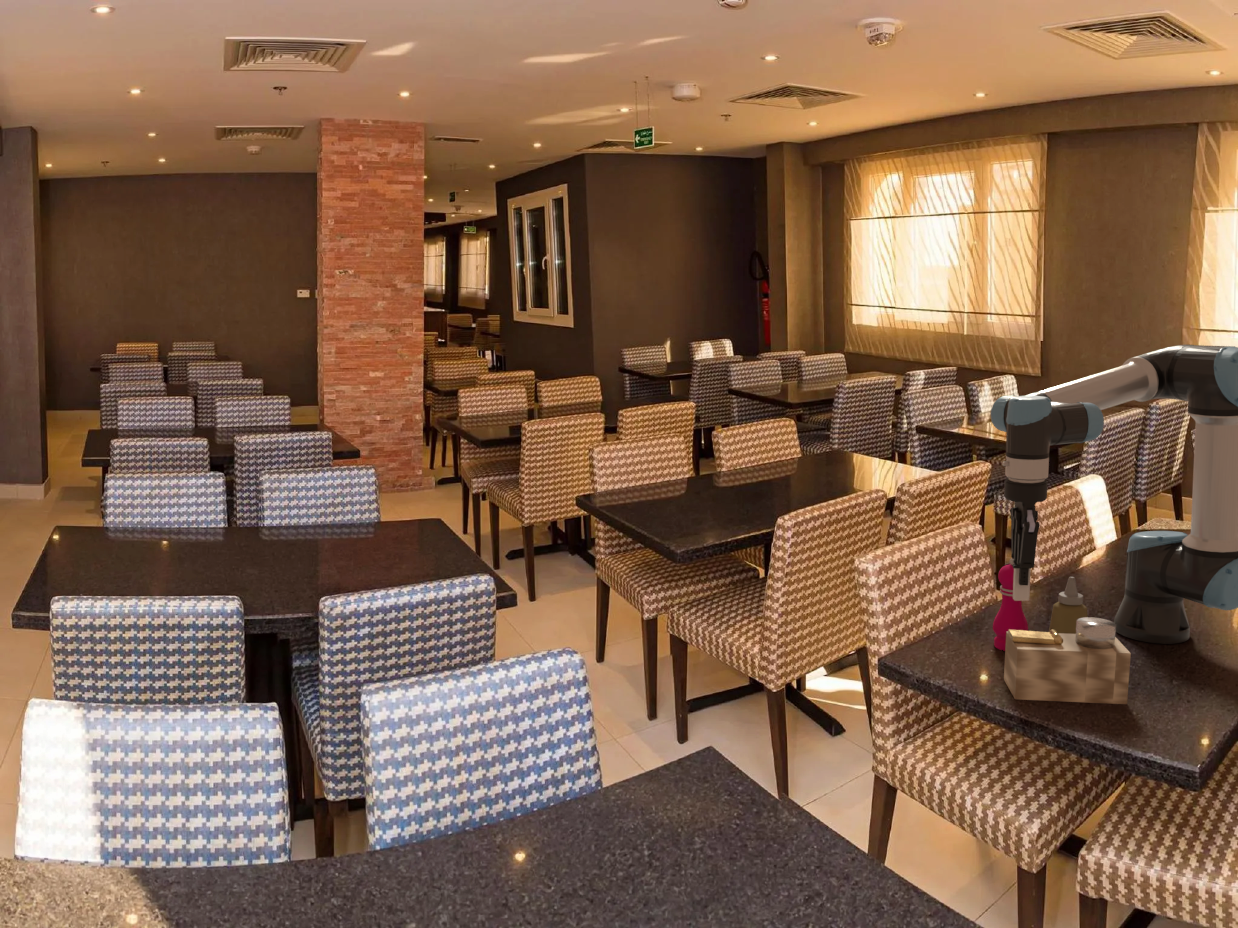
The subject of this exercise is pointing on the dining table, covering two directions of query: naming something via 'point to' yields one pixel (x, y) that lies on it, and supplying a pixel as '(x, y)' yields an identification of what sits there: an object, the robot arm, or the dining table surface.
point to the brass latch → (1036, 636)
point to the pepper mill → (1008, 609)
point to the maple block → (1067, 671)
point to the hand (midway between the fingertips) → (1020, 599)
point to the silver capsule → (1095, 633)
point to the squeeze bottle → (1068, 609)
